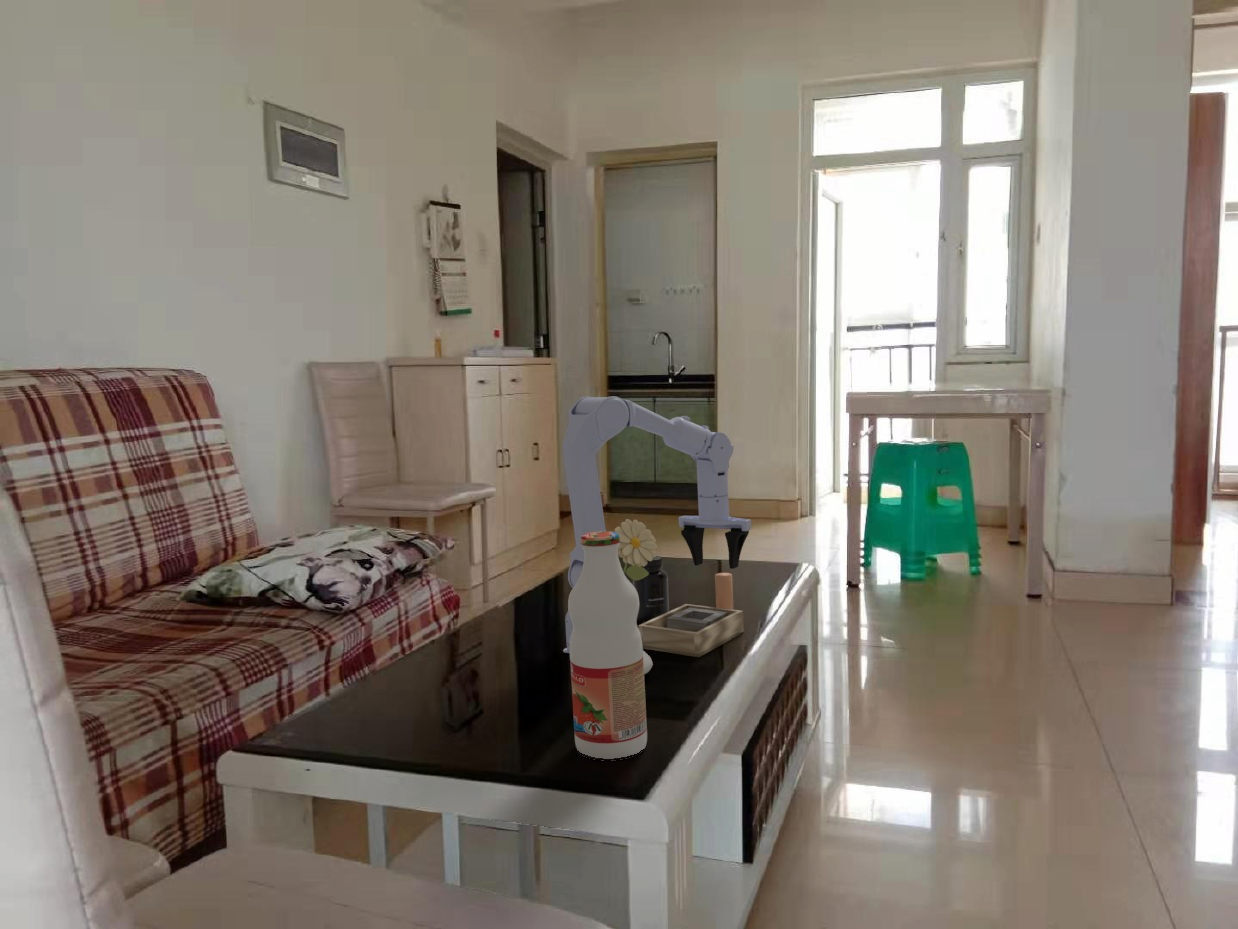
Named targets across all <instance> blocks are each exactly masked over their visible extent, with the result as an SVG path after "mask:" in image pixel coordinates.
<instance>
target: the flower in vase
mask: <svg viewBox="0 0 1238 929" xmlns="http://www.w3.org/2000/svg"><path fill="white" fill-rule="evenodd" d="M646 528H647V526H646V525H645V524H644V523H643V522H641V521H638V519H633V520H631V519H628V518H626V519H625V521H622V522H621V524H620V526H617V527H615V528H614V532H616V533H618V534H619V538H620V543H619V544H620V546H619V547H618V557H619V558H622V562H623V563H624V567H623V569H622V570H623V572H624V574H626V575H627V576H628V577H629V578H630V579H631V580H632V581H633V580H636V581H637V580H640V579H643V578H644V577H646V576H648V575H649V573H648V572H647V571H646V570H645V569H644V568H643V567H641V566H645V565H647V560H648V561H652V560H653V557H656V556H657V553H656V550H657V549H658V545H657V544H656V542H657V539H656V538H655V536H654V534H652V530H650V529H646ZM628 564H629V565H630V566H628ZM627 566H628V567H627ZM643 664H644V675H646V674H648V673H649V672H650V671H651V669H652V667H653V665H654V664H653V661H652V657H651V656H650V655H648V653H646V651H644V650H643Z"/></svg>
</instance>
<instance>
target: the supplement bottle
mask: <svg viewBox="0 0 1238 929" xmlns="http://www.w3.org/2000/svg"><path fill="white" fill-rule="evenodd" d="M663 566H664V565H663V558H662V556H659V555H656V557H653V560H652V561H648V560H647V565H645V566H641V567H643V568H644V569H645V570H646V571H647V572H648V573H649V575H648V576H646V577H644V578H643V579H640V580H637V581H636V580H633V579H632V585H633V586H634V587H635V589H636V591H637V593H638V596H639V612H638V616H637V621H638V622H642V623H645V622H647V621H649V620H652V619H654V618H656V617H658V616H660V615H663V614H665V613H667V612H669V611H670V604H669V601H670V600H669V598H670V597H669V576H668V573H667V572H666V571H665V570H664V569H662V568H663Z"/></svg>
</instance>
